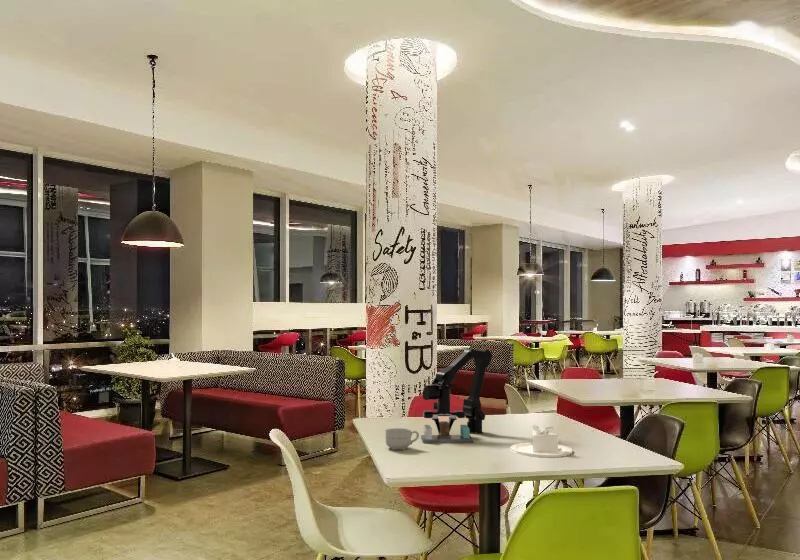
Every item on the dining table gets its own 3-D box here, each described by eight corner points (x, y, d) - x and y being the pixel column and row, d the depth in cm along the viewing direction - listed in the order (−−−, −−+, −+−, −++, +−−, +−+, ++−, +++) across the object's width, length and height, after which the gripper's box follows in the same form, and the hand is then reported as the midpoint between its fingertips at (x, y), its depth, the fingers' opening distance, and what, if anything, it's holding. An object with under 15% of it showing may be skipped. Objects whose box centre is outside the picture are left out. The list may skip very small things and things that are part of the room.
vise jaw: (465, 434, 290) (465, 424, 290) (469, 438, 280) (469, 428, 280) (460, 434, 289) (460, 424, 290) (463, 438, 279) (463, 428, 280)
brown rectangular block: (447, 434, 299) (447, 421, 299) (449, 437, 291) (449, 424, 291) (438, 434, 299) (438, 421, 299) (440, 437, 291) (440, 424, 291)
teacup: (381, 450, 263) (381, 430, 264) (390, 445, 273) (390, 426, 274) (413, 452, 258) (413, 432, 259) (421, 447, 269) (422, 428, 269)
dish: (583, 457, 254) (582, 428, 255) (522, 459, 250) (522, 429, 251) (557, 444, 278) (557, 418, 279) (502, 446, 274) (502, 419, 275)
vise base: (469, 438, 290) (469, 424, 290) (473, 442, 280) (473, 428, 280) (421, 438, 288) (421, 424, 289) (423, 442, 278) (423, 428, 279)
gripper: (461, 396, 304) (461, 430, 304) (422, 396, 303) (421, 430, 303) (465, 399, 293) (465, 434, 292) (424, 399, 292) (424, 434, 291)
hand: (443, 433), depth 295 cm, fingers closed on brown rectangular block, 4 cm apart
